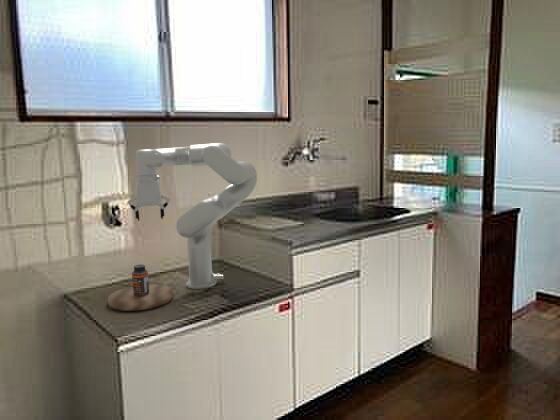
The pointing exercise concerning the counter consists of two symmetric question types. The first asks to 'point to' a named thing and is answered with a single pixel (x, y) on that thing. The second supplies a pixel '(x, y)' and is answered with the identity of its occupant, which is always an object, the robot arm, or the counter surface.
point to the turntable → (140, 298)
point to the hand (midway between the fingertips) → (150, 219)
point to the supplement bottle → (140, 280)
